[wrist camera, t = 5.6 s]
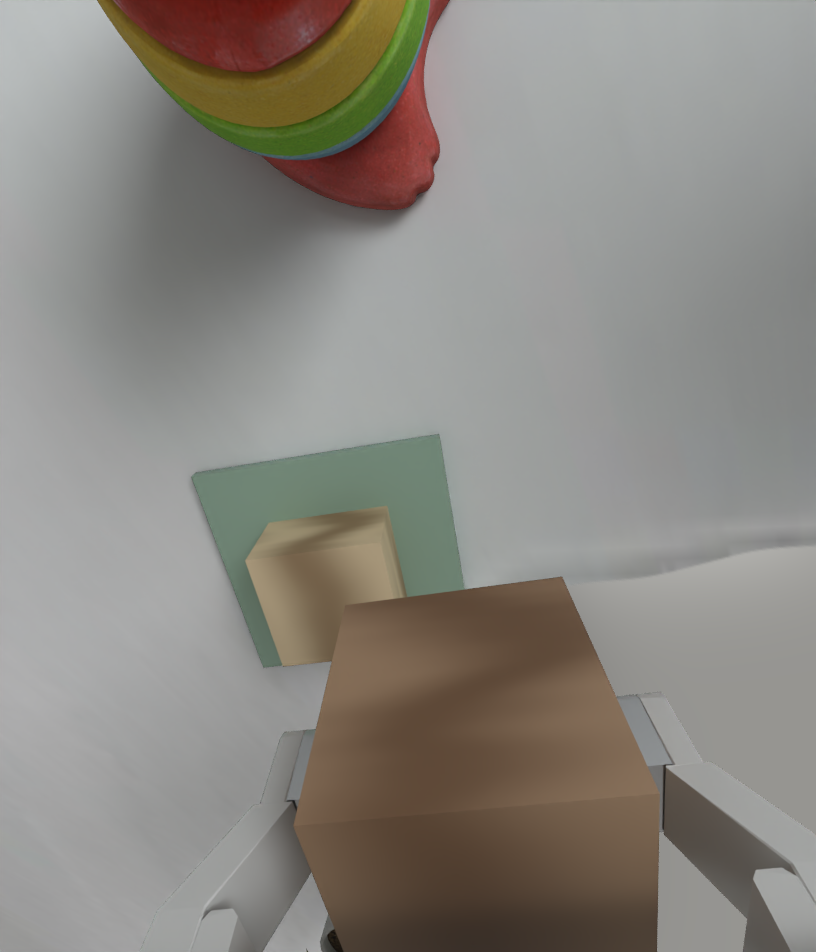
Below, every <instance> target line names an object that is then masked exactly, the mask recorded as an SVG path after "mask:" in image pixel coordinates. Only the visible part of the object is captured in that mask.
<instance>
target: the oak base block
mask: <svg viewBox="0 0 816 952" xmlns="http://www.w3.org/2000/svg"><path fill="white" fill-rule="evenodd" d="M245 562H246V565H247V568H248V570H249V573H250V576H251V579H252V581H253V584H254V587H255V590H256V593H257V595H258V598H259V601H260V604H261V607H262V609H263V612H264V615H265V618H266V621H267V623H268V626H269V629H270V632H271V635H272V637H273V640H274V643H275V646H276V648H277V651H278V654H279V657H280V660H281V662H282V665H283V667H284V666H293V665H302V664H311V663H320V662H329V661H332V659H333V654H334V650H335V646H336V642H337V637H338V633H339V629H340V625H341V620H342V616H343V612H344V608H345V605H350V604H358V603H366V602H373V601H381V600H389V599H396V598H404V597H407V594H406V589H405V584H404V580H403V575H402V571H401V566H400V562H399V557H398V552H397V548H396V543H395V539H394V534H393V530H392V525H391V520H390V516H389V511H388V507H387V506H381V507H374V508H367V509H361V510H354V511H347V512H340V513H333V514H326V515H319V516H312V517H305V518H298V519H291V520H284V521H277V522H270V523H268V525H267V526H266V528H265V530H264V531H263V533H262V534H261V536H260V538H259V539H258V541H257V542H256V544H255V546H254V547H253V549H252V550H251V552H250V554H249V555H248V557H247V558H246V560H245Z"/></svg>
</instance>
